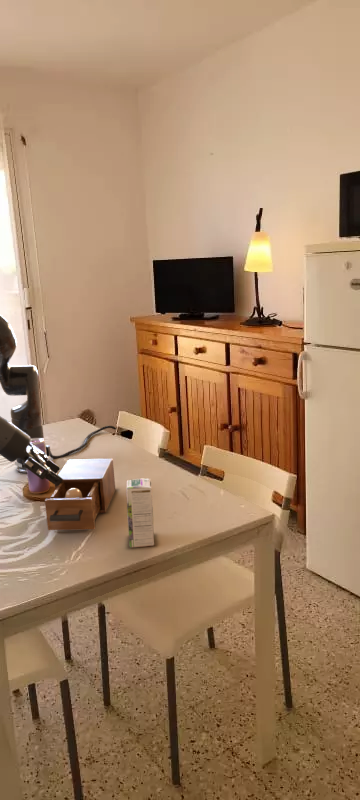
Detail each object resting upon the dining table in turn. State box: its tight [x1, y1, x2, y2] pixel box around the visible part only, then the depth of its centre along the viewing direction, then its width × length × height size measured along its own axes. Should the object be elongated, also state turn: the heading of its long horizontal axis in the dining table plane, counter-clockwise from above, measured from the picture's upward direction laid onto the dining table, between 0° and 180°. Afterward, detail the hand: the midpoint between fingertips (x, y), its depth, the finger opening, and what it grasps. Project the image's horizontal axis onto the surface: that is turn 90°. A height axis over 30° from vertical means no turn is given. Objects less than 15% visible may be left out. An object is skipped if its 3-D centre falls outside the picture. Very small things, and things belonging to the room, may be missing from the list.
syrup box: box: [126, 478, 155, 549], centre depth 141 cm, size 6×6×14 cm
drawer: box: [44, 481, 102, 531], centre depth 153 cm, size 19×11×8 cm, turn 176°
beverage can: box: [26, 438, 51, 495], centre depth 175 cm, size 6×6×15 cm
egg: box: [65, 488, 82, 498], centre depth 153 cm, size 5×5×7 cm
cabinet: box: [54, 457, 116, 514], centre depth 166 cm, size 16×13×10 cm
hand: (59, 476), depth 152 cm, fingers open, 8 cm apart
